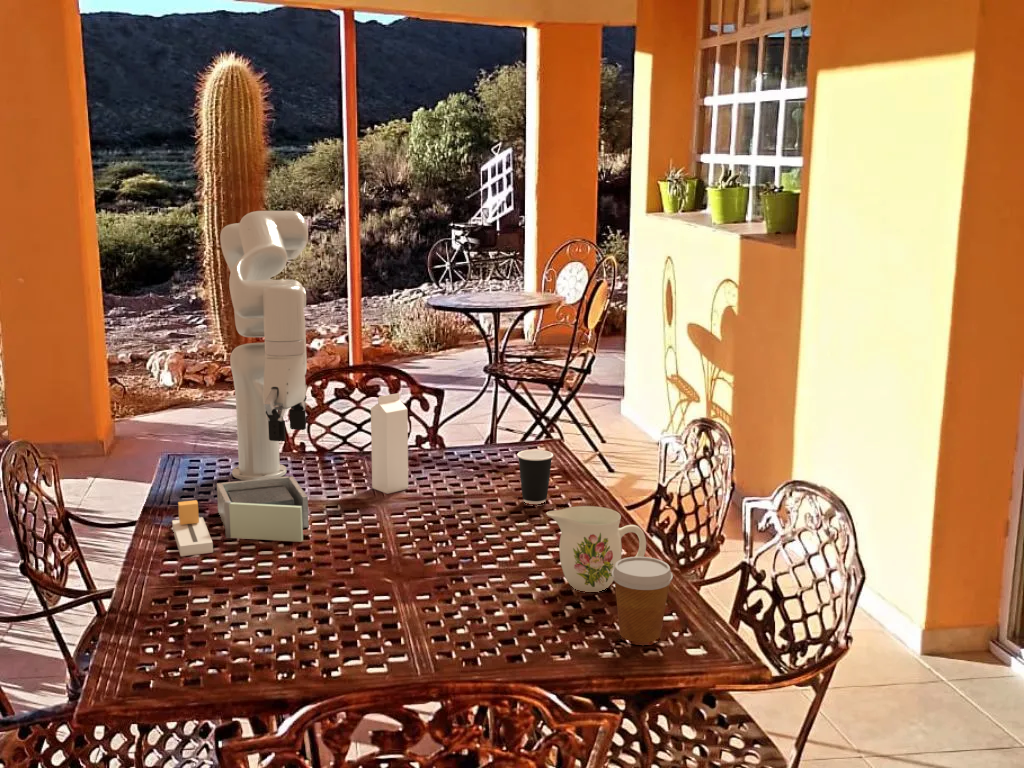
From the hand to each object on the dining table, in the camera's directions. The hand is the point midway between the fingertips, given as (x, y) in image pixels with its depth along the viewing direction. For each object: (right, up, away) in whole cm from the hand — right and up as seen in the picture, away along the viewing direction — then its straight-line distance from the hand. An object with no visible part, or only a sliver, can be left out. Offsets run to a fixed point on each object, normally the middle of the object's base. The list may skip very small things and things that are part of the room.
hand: (287, 434), depth 213 cm
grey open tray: (-8, -18, +14) cm, 24 cm away
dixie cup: (+49, -16, +27) cm, 58 cm away
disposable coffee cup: (+64, -30, -41) cm, 82 cm away
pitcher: (+59, -26, -20) cm, 67 cm away
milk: (+16, -14, +36) cm, 42 cm away
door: (-5, -21, +2) cm, 21 cm away
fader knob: (-21, -18, +5) cm, 28 cm away
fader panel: (-19, -21, +1) cm, 28 cm away
